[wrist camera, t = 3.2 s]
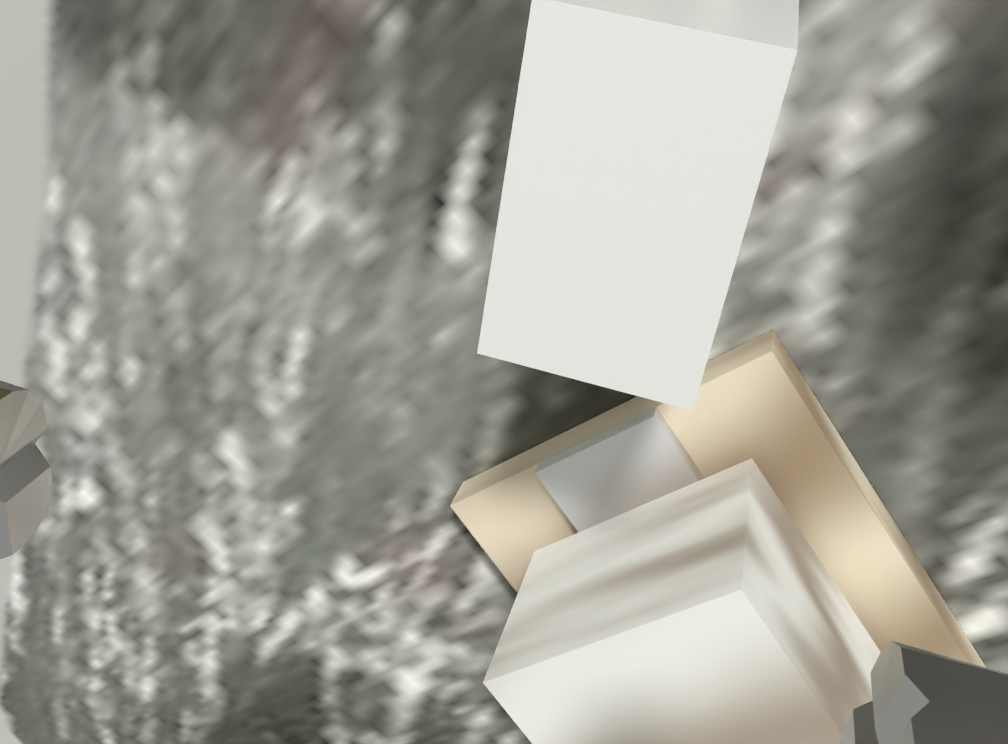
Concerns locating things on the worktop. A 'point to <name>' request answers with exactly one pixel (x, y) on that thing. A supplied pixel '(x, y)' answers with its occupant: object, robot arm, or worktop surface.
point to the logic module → (632, 185)
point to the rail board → (790, 466)
